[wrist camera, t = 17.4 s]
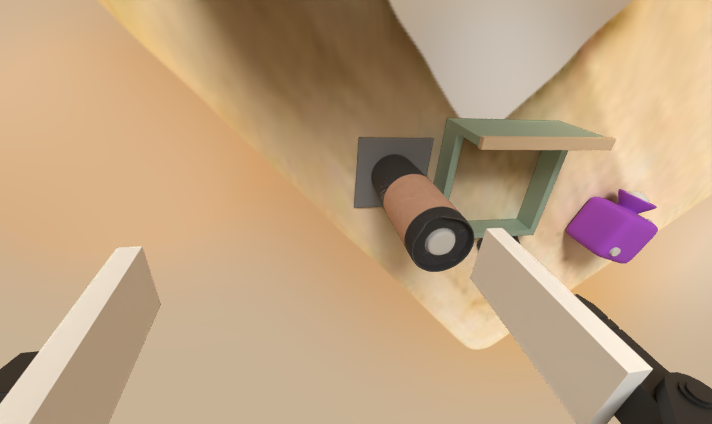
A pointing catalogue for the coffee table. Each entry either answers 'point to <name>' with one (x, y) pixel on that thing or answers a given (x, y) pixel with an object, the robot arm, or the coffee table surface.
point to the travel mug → (421, 215)
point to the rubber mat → (376, 150)
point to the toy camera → (614, 226)
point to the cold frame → (516, 136)
